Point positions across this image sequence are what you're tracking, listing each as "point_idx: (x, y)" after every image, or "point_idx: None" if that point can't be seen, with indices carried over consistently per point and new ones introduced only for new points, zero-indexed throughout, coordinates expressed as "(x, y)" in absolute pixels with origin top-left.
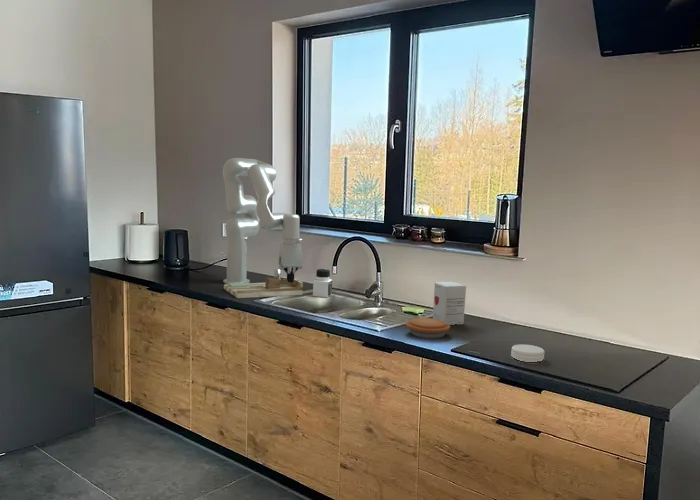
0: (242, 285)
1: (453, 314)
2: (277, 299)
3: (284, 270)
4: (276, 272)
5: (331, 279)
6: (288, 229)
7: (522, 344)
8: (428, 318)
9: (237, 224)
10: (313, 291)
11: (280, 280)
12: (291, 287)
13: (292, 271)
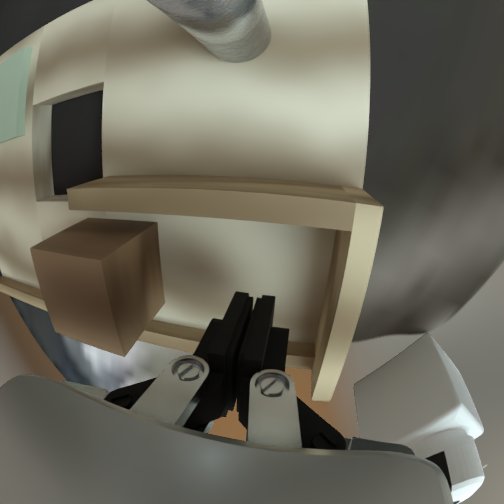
0: (2, 141)
1: None
2: (144, 369)
3: (134, 392)
4: (163, 11)
5: (476, 437)
6: None
7: None
8: None
9: None
10: (356, 406)
11: (178, 212)
12: (304, 235)
13: (247, 429)
